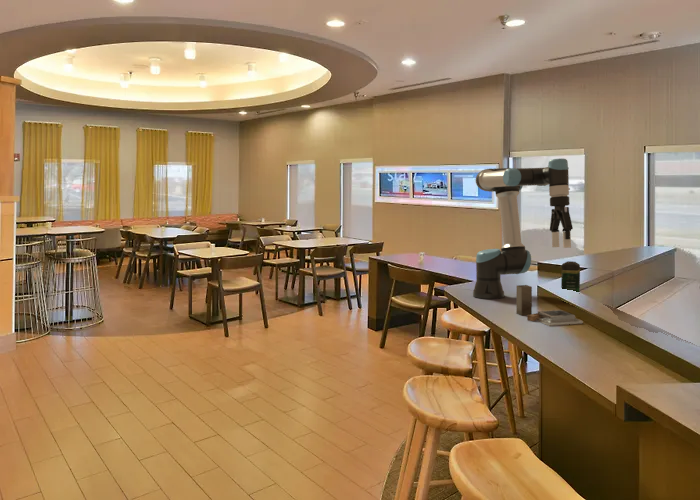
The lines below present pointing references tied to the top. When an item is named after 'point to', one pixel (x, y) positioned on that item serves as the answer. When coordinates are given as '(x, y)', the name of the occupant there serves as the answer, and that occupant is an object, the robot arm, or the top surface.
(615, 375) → the top surface
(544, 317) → the keeper
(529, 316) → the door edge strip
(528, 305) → the stop bar
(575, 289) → the coffee jar
